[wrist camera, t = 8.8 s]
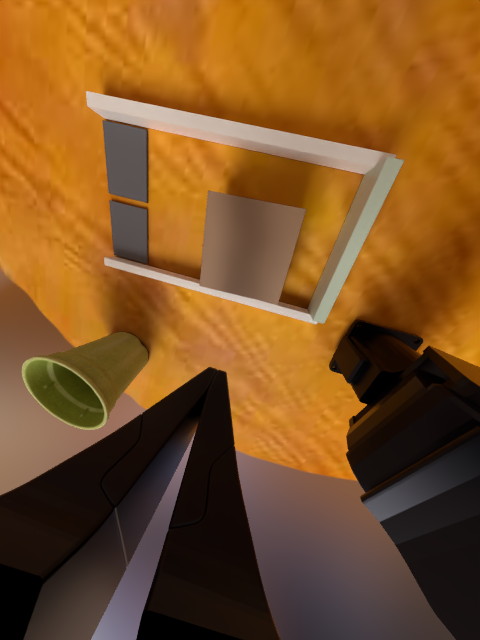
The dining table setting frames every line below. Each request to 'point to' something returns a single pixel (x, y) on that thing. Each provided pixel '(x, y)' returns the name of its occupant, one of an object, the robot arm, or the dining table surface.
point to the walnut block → (248, 245)
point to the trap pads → (128, 188)
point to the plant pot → (85, 378)
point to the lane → (369, 162)
